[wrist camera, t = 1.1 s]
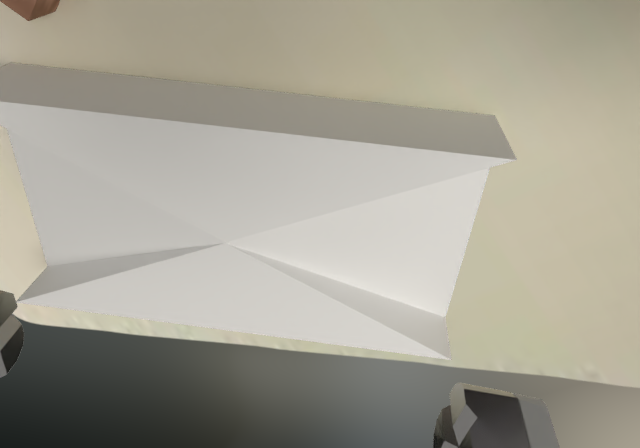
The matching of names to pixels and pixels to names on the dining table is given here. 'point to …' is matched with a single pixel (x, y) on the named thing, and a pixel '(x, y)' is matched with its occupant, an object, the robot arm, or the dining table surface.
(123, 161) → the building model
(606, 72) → the dining table surface
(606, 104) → the dining table surface
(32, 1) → the guide channel
